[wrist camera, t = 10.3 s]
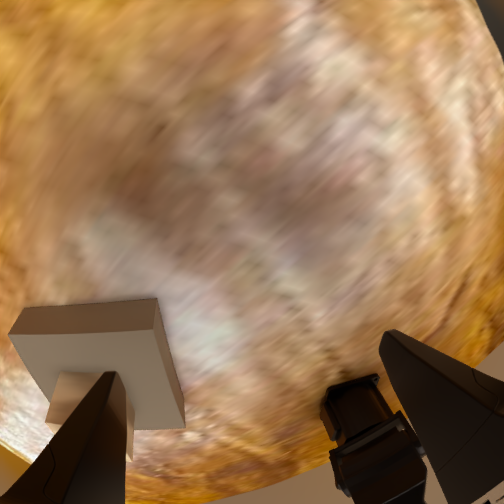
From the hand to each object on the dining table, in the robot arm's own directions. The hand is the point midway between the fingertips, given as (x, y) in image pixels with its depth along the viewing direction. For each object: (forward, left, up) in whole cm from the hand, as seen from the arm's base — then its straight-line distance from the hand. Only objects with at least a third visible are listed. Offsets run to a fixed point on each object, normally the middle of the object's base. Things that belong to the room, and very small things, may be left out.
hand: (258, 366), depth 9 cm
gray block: (+11, +11, -12) cm, 20 cm away
